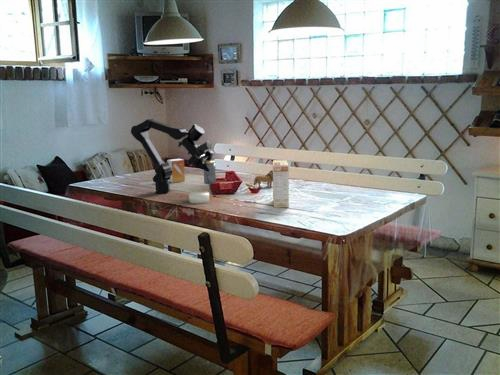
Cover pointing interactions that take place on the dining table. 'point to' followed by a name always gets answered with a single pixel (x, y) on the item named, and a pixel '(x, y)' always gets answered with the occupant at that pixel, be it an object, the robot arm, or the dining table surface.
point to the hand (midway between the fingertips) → (211, 170)
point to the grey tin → (210, 172)
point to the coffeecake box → (280, 183)
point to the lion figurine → (264, 179)
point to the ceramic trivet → (199, 197)
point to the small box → (177, 170)
